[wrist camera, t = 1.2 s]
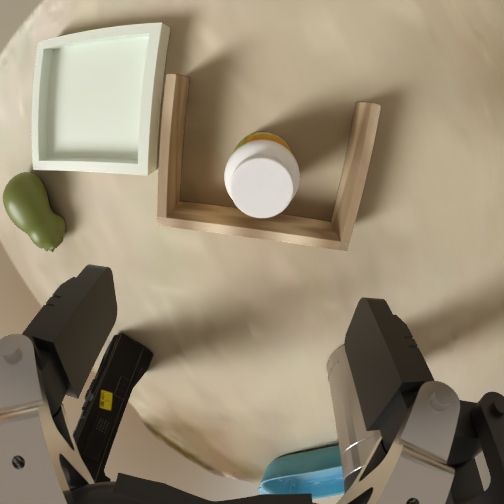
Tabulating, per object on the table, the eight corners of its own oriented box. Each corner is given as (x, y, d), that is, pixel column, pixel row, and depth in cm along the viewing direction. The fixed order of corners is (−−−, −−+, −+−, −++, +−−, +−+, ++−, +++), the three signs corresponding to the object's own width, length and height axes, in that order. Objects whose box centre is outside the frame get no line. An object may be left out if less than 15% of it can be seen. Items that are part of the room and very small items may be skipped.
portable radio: (119, 325, 38) (42, 490, 16) (157, 347, 39) (101, 518, 17) (104, 353, 41) (41, 495, 19) (138, 373, 42) (88, 518, 20)
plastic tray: (170, 28, 22) (162, 22, 19) (156, 169, 28) (147, 175, 26) (51, 43, 21) (38, 41, 19) (46, 164, 28) (33, 169, 26)
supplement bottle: (242, 124, 26) (230, 135, 17) (299, 140, 26) (316, 160, 18) (227, 179, 28) (209, 216, 20) (282, 194, 29) (289, 238, 20)
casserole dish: (276, 483, 64) (276, 506, 57) (242, 454, 54) (240, 482, 48) (415, 449, 56) (422, 472, 49) (419, 411, 46) (429, 440, 40)
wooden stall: (364, 104, 24) (381, 105, 20) (336, 230, 30) (346, 251, 26) (181, 77, 24) (166, 74, 20) (171, 207, 30) (157, 225, 26)
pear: (12, 176, 23) (62, 252, 28) (38, 157, 27) (80, 226, 33) (-12, 199, 24) (34, 266, 30) (13, 178, 28) (53, 240, 34)
